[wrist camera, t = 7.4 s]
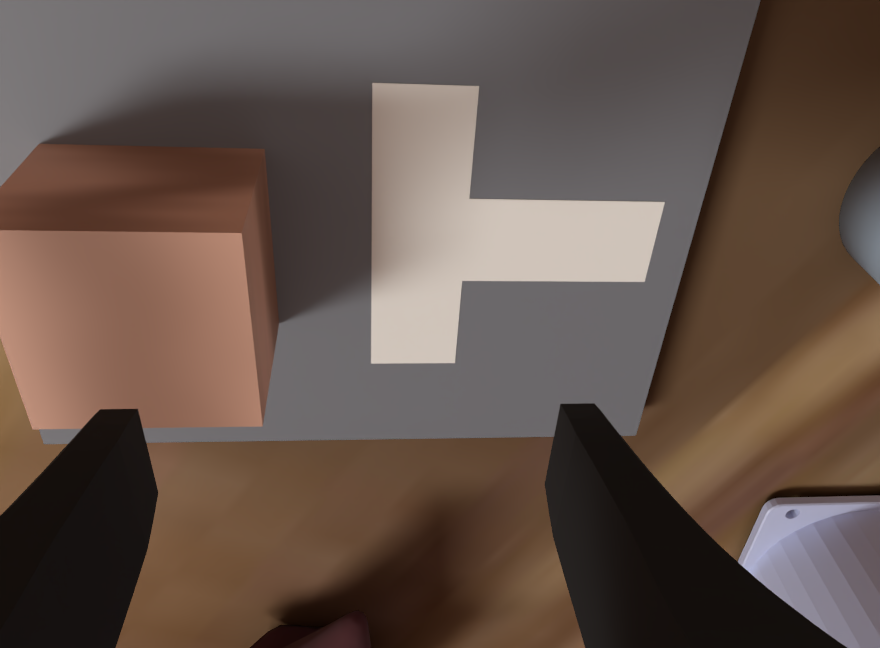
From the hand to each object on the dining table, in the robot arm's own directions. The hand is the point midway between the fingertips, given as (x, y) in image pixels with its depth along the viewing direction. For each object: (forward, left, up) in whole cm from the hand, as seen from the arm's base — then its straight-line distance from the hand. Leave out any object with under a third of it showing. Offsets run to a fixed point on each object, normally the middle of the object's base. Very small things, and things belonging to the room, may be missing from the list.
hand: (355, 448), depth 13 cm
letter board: (0, 0, -8) cm, 8 cm away
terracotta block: (+5, 0, -7) cm, 9 cm away
